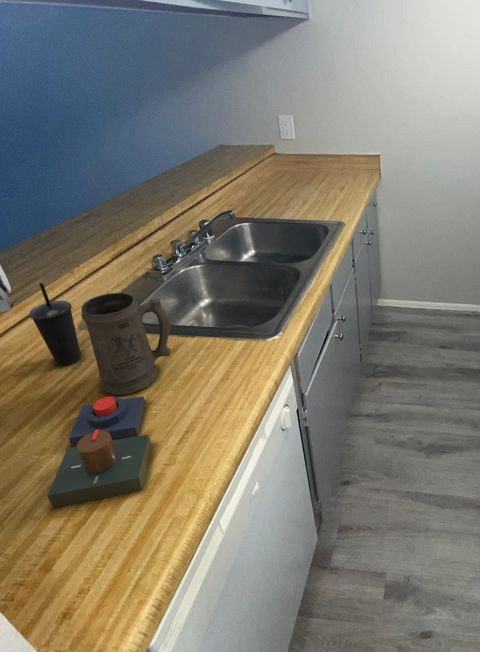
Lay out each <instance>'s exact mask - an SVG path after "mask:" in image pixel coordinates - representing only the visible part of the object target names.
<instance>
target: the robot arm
mask: <svg viewBox="0 0 480 652" xmlns="http://www.w3.org/2000/svg"><path fill="white" fill-rule="evenodd" d="M11 292H12V288H11V284H10V282H9V280H8V277H7V275H6V273H5V271H4V269H3V267H2V266H1V264H0V314H1V313H4V312H7V311H10V310H11V309H12V308H13V306H14V302H13V301H12V299H11V298H10V296H9V294H11Z"/></svg>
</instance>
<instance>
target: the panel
mask: <svg viewBox="0 0 480 652" xmlns="http://www.w3.org/2000/svg"><path fill="white" fill-rule="evenodd" d="M112 441H113V444H114V447H115V450H116V453H117V456H118V459H117V461H116V463H115V464H114V465H113V466H112V467H111V468H110V469H108V470H106V471H104V472H101V473H97V474H91V473H88V472H87V471H86V470H85V467H84V465H83V462H82V460H81V457H80V455H79V452H78V450H77V446H73V447H67V448H66V450H65V453H64V455H63V458H62V460H61V462H60V465H59V467H58V469H57V472H56V474H55V475H54V476H55V477H54V478H53V481H52V484H51V486H50V488H49V490H48V492H47V498H48V500H49V502H50V504H51V506H52V508H53V509H55V508H59V507H65V506H70V505H75V504H79V503H86V502H90V501H95V500H100V499H104V498H105V499H106V498H110V497H115V496H120V495H125V494H129V493H135V492H139V491H143V489H144V483H145V480H146V475H147V470H148V466H149V461H150V458H151V453H152V450H153V449H152V448H153V444H152V441H151V437H150V434H149V433H148V434H144V435H137V436H132V437H126V438H120V439H114V440H112Z"/></svg>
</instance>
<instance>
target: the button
mask: <svg viewBox="0 0 480 652" xmlns="http://www.w3.org/2000/svg"><path fill="white" fill-rule="evenodd" d="M93 404H94V405H93V408H94V411H95V414H96V415H97V416H99V417H102V416H107V415H109V414H111V413H113V412H114V411H116V409H117V405H116V402H115V399H114V398H112V396H106V397H101V398H100V399H97V400H96V401H95V402H94V403H93Z"/></svg>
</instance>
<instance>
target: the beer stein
mask: <svg viewBox="0 0 480 652" xmlns="http://www.w3.org/2000/svg"><path fill="white" fill-rule="evenodd" d="M147 313H153V314H155V315H156V317H157V321H158V325H159V337H158V343H157V346H156V348H155V349H152V348H151V345H150V341H149V339H148V336H147V332H146V329H145V325H144V322H143V318H144V317H143V316H144V315H145V314H147ZM80 316H81V319H82V320H83V321H84V322H85V325H86V328H87V331H88V335H89V339H90V342H91V346H92V350H93V355H94V357H95V361H96V364H97V368H98V377H99V379H100V380H101V387H102V389H103V391H104V392H106V393H108V394H110V395H113V396H122V395H123V396H124V395H130V394H134V393H137V392H140V391H141V390H144V389H146V388H147V387H149V386H150V385H152V383H154V381H155V380H156V378H157V375H158V371H157V367H156V366H155V362H156V360H157V359H159V358H161V357H171V354H172V351H171V348H170V347H168V340H169V336H170V332H171V321H170V317H169V315H168V313H167V311H166V310H165V308H163V306H162V304H161V299H160V298H157V297H156V298H155V297H154V298H150V300H149V301H148V302H147V303H143V304H141V305H139V302H138V301H137V300H136V298H135V296H133V295H132V294H130V293H125V292H113V293H105V294H100V295H98V296H97V295H96V296H95V297H91V298H90V299H88V300H87V301H85V302H83V304H82V306H81V315H80Z"/></svg>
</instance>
